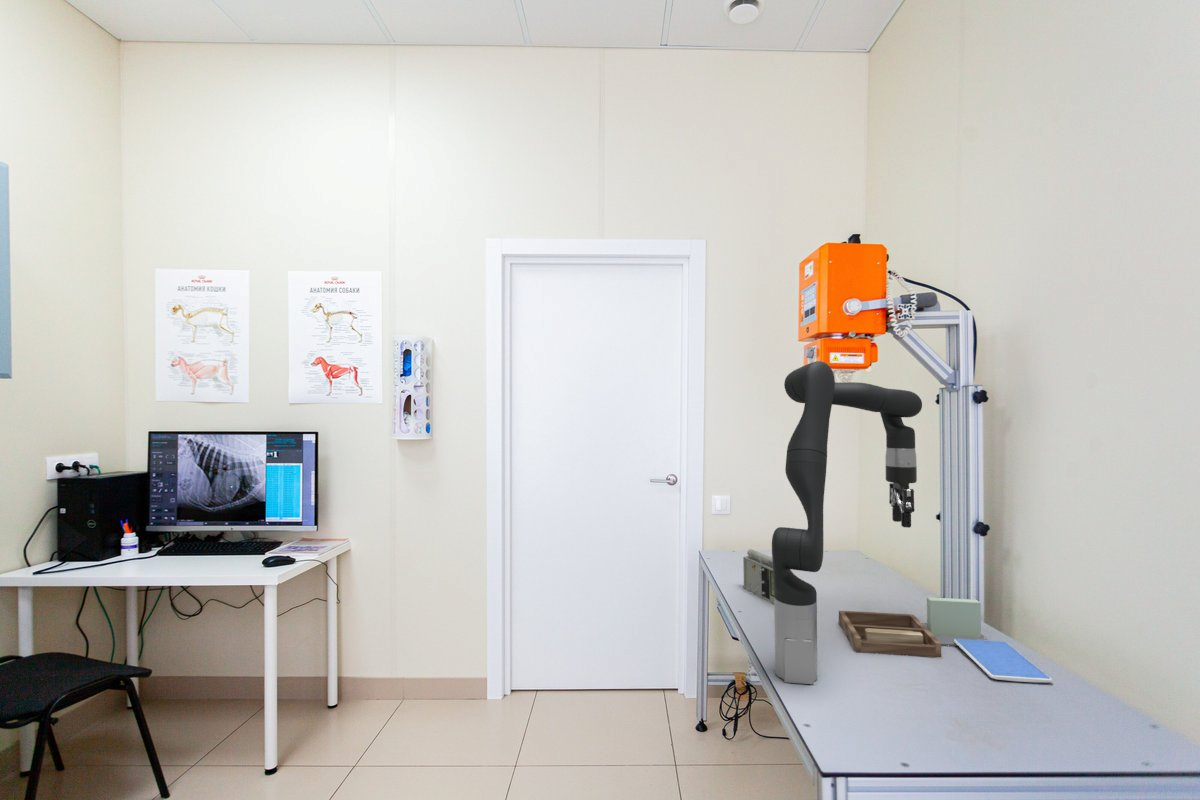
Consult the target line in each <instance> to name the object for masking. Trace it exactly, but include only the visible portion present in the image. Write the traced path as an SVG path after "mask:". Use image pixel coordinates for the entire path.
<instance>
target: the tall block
mask: <svg viewBox="0 0 1200 800" xmlns="http://www.w3.org/2000/svg"><path fill="white" fill-rule="evenodd" d="M981 610H982V605H981V602H980V601H979V600H977V599H969V598H968V599H967V598H950V597H949V598H948V597H928V596H926V623H927V629H928V630H929V631H930V632H931V633H932V634H933V635H947V636H964V637H981V635H982V622H981V621H982V620H981V619H982V618H981V617H982V615H981Z"/></svg>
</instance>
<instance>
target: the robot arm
mask: <svg viewBox="0 0 1200 800" xmlns="http://www.w3.org/2000/svg"><path fill="white" fill-rule="evenodd" d="M783 386H784V389H785V390H784V391H785V393H786V395H787V396H788V397H789V398H790V400H792V401H794V402H796V403H798V404H804V405H803V407H804V408H803V411H802V415H801V417H800V419H799V421H798V423H797V425H796V427H795V429H794V431H793V433H792V435H791V436H790V439H789V441H788V444H787V448H786V456H785V457H786V458H785V475H786V478H787V480H788V482H789V485H790V486H791V488H792V490H793V491H794V493H795V495H796V496H797V497H798V500H799V501H800V504H801V505H802V508H803V510H804V513H805V515H806V519H807V529H805V528H794V527H784V526H783V527H782V526H779V527H777V528H775V530H773V531H774V532H773V534H772V538H771V557H772V560H773V578H774V604H773V606H774V609H773V610H774V611H773V612H774V613H773V614H774V618H773V619H774V672H775V674H776V675H777V676H778V677H779V678H781V679H782V680H783V681H784V683H791V684H805V685H815V683H814V682H815V681H817V679H818V676H819V675H818V604H817V603H818V602H817V599H818V597H817V595H818V593H817V589H816V587H815V586H813V585H812V584H811V583H809V582H807V581H805V580H804V579H802V578H799V577H798V576H797V575H796V574H794V573H793V571H792V570H795V571H801V572H809V573H817V572H819V571H820V569H821V568H822V564H823V560H824V504H825V503H824V502H825V501H824V500H825V490H826V489H825V488H826V478H827V463H828V440H829V430H830V429H829V427H830V418H831V417H830V416H831V413H832V412H831V411H832V407H833V406H842V407H848V408H855V409H858V410H859V409H860V410H863V411H867V412H872V413H880V417H881V422H882V424H883V427H884V430H885V436H886V439H885V440H886V441H885V442H886V444H885V445H886V451H885V481H886V482H888V483H889V484H888V485H889V499H888V501H889V502H888V503H889V504H890V506H891V508H892V509H891V510H892V515H891V517H892V521H893V522H895V523H899V522H901V523H900V525H901V527H902V528H910V529H911V527H912V514H913V513H914V512H915V496H914V495H915V491H914V488H910V484H915V483H917V480H918V479H917V476H918V474H917V467H918V466H917V453H916V433H915V429H914V428H913V427H911V426H907V425H905V424H904V421H903V420H902V418H913V417H916V416H917V415H918V414H919V413H920V412H921V411H922V408H923V402H922V399H921V397H920V396H919V395H918V394H917V393H915V392H913V391H910V390H905V389H904V390H903V389H897V388H896V389H895V388H888V387H883V386H879V385H874V384H871V383H866V382H857V381H856V382H846V381H845V382H836V379H835V374H834V372H833V370H832V368H831V366H830V365H829V364H827V363H826V362H824V361H821V360H816V361H812V362H809V363H807V364H805V365H802V366H801V367H798V368H796V369H794V370H792V371H791V372H790V373H788V374H787V376H786V377H785V379H784V385H783Z"/></svg>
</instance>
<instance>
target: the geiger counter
mask: <svg viewBox="0 0 1200 800" xmlns="http://www.w3.org/2000/svg"><path fill="white" fill-rule="evenodd" d="M746 554H747V555H746V556H743V557H742V560H743V562H742V563H743V567H742V568H743V589H744V590H745V591H747V592H749V593H751V594H753V595H754V596H756V597H759V598H761V599H762V600H765V601H766V602H768V603H770V604H773V605H774V578H773V560H772V556H769V555H767V554H765V553H762V552H760V551H757V550H754V549H752V548H750V549H748V550H747V553H746Z"/></svg>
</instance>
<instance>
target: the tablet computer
mask: <svg viewBox="0 0 1200 800" xmlns="http://www.w3.org/2000/svg"><path fill="white" fill-rule="evenodd" d="M954 643H955V644H957V645H958V646H959V647H958V648H960V650H962V651H963V652H964V653H965V655H967V656H968V657H969V658H970V659H971V661H972V660H973V662H974V663H976V665H978V667H980V668H981V670H983V672H984V673H986V675H987V676H988V677H989V678H991V679H994V680H1001V681H1009V682H1021V683H1022V682H1024V683H1048V684H1049V683H1053V678H1052V677H1050V676H1049V675H1048V674H1047V673H1045V672H1044V671H1043V670H1041V669H1040V667H1038V666H1037V665H1036V664H1034V663H1033V662H1032V661H1030V660H1029V659H1028V658H1026V657H1025V655H1023V654H1022V653H1020V652H1019V651H1018V650H1017V649H1016V648H1014V647H1013V646H1012V645H1011V644H1010V643H1008V642H1006V641H1002V640H1001V641H1000V640H989V641H985V640H967V639H954Z"/></svg>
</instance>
